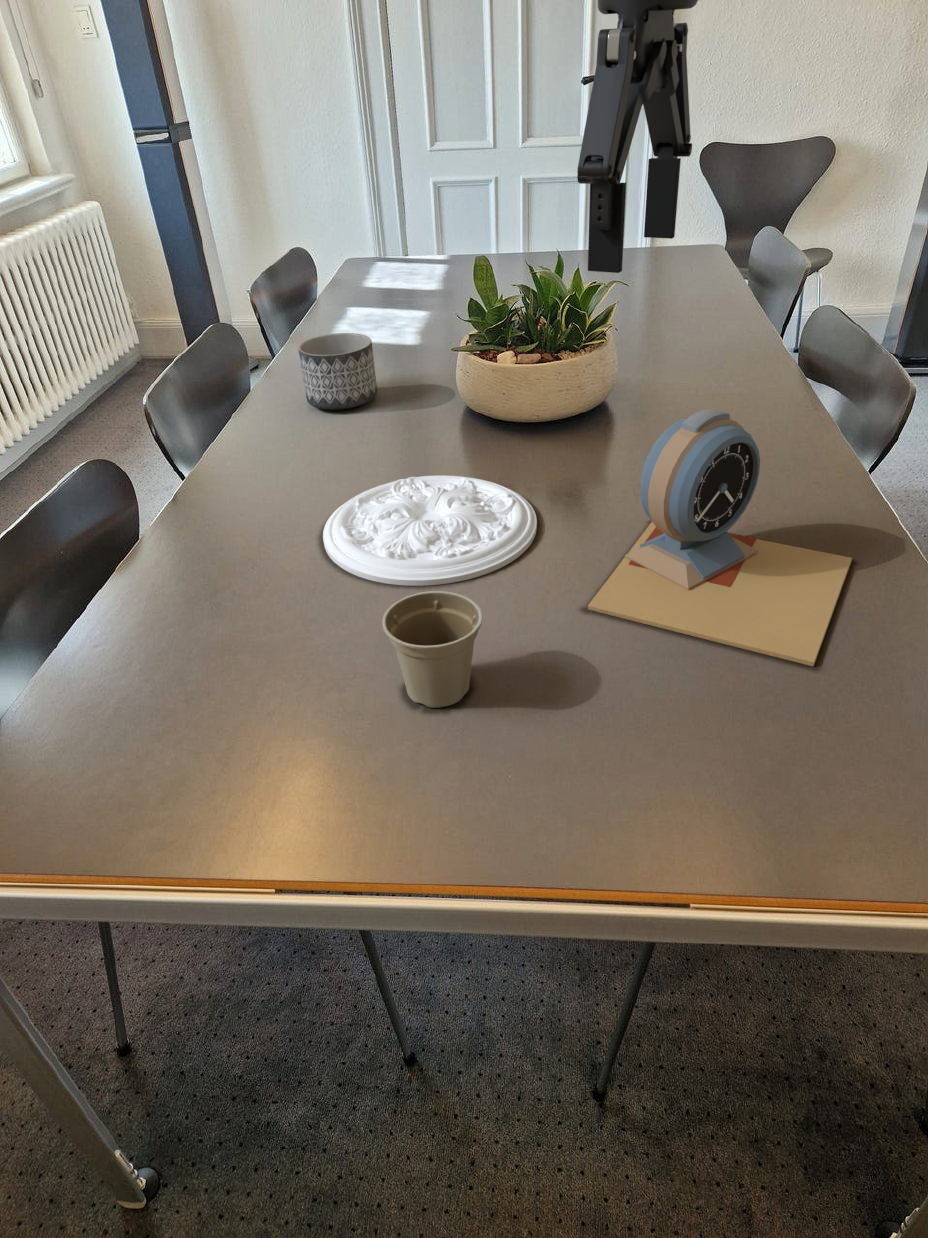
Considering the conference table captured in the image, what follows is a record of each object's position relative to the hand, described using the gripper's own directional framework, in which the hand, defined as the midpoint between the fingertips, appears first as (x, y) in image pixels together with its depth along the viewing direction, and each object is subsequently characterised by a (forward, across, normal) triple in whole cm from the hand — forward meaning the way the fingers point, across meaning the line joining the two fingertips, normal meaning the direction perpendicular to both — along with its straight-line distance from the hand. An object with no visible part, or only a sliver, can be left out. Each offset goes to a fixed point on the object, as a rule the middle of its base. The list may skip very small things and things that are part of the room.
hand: (633, 253), depth 75 cm
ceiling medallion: (+37, +6, +28) cm, 47 cm away
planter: (+37, +40, +67) cm, 86 cm away
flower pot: (+37, -22, +10) cm, 44 cm away
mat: (+37, +8, -10) cm, 39 cm away
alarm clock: (+36, +12, -5) cm, 38 cm away
